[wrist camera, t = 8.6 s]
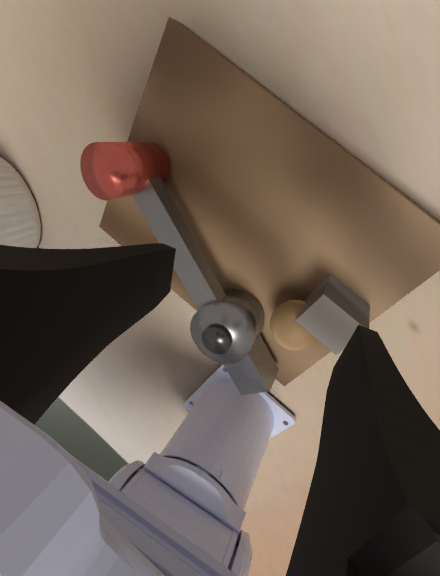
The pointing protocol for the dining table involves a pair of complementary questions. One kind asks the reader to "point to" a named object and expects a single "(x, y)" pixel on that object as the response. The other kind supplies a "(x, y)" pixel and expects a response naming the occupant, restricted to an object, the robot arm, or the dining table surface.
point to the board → (274, 205)
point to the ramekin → (17, 210)
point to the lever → (185, 260)
